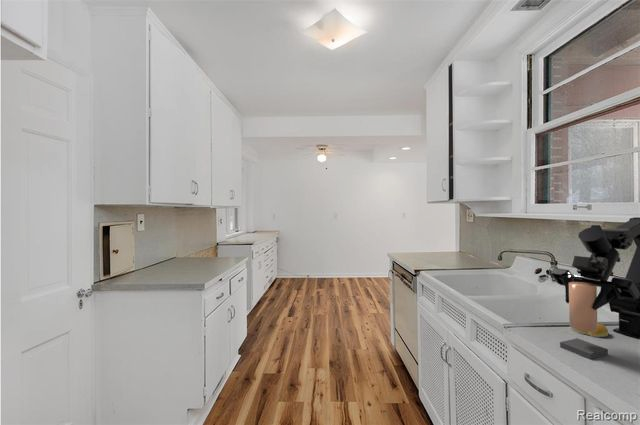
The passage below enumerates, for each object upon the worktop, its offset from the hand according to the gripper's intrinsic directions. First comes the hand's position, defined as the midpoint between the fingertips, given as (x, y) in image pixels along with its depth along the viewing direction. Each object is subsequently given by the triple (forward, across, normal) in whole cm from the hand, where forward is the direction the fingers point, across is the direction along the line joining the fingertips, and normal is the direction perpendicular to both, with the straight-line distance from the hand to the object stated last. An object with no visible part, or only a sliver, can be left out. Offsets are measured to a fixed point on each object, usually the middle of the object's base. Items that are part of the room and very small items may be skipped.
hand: (579, 305), depth 83 cm
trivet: (+8, 0, +10) cm, 13 cm away
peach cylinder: (+4, 0, +6) cm, 7 cm away
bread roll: (-3, -7, +22) cm, 24 cm away
